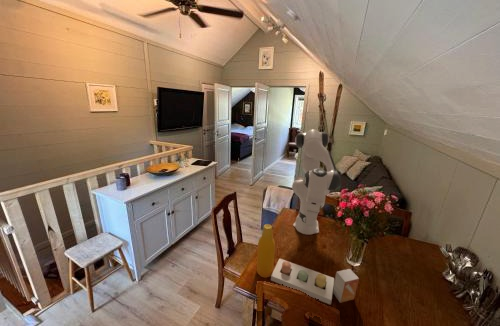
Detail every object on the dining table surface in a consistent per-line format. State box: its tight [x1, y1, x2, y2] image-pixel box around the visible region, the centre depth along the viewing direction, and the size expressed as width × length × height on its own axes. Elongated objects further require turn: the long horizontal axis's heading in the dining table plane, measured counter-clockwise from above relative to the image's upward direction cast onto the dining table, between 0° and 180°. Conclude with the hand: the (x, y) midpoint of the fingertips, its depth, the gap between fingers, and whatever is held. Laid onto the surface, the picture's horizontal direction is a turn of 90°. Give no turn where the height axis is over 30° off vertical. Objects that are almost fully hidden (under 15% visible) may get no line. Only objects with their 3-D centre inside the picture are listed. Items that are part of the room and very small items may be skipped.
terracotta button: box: [281, 260, 291, 276], centre depth 113 cm, size 5×5×4 cm
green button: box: [297, 270, 308, 283], centre depth 110 cm, size 5×5×4 cm
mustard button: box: [315, 273, 326, 289], centre depth 105 cm, size 5×5×4 cm
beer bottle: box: [256, 223, 276, 279], centre depth 112 cm, size 9×9×29 cm
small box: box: [332, 268, 360, 304], centre depth 101 cm, size 8×6×13 cm
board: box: [270, 258, 335, 306], centre depth 110 cm, size 14×30×3 cm, turn 64°
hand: (312, 224), depth 110 cm, fingers closed
